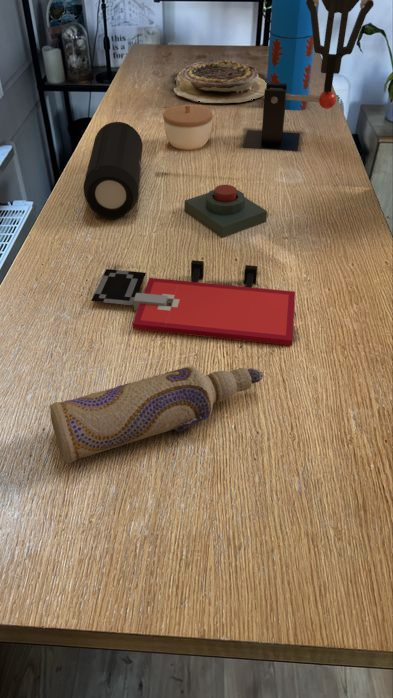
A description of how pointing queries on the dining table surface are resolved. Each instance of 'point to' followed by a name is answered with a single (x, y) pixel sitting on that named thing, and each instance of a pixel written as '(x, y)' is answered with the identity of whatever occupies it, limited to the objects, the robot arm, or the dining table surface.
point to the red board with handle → (203, 306)
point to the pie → (219, 82)
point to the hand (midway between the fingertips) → (327, 89)
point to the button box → (225, 213)
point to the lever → (314, 98)
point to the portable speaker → (114, 170)
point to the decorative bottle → (142, 409)
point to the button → (225, 193)
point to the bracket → (273, 123)
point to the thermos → (291, 48)
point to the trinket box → (187, 126)
